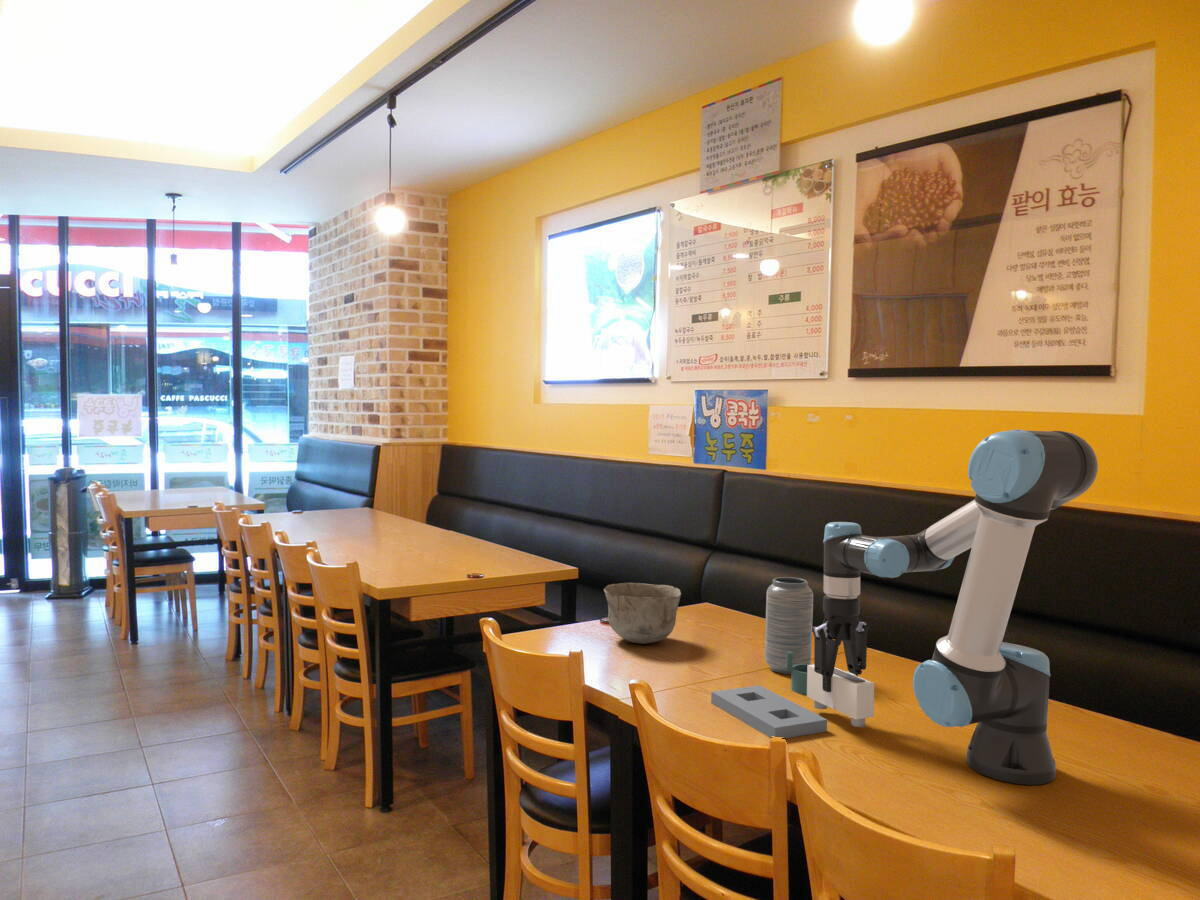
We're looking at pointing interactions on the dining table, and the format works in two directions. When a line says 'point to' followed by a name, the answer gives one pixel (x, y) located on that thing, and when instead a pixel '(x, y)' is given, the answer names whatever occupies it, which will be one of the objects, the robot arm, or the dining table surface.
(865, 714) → the block
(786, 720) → the board
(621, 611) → the bowl
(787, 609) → the vase
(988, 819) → the dining table surface
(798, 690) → the bracket
